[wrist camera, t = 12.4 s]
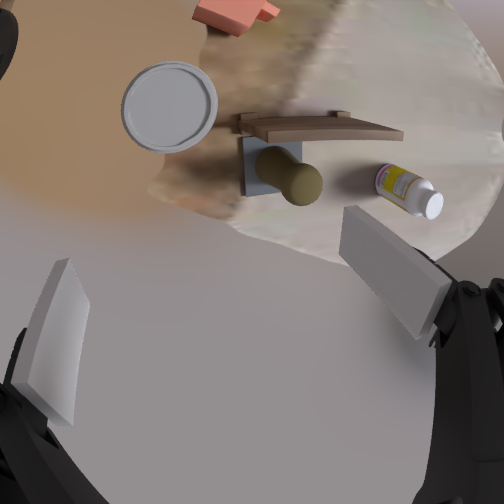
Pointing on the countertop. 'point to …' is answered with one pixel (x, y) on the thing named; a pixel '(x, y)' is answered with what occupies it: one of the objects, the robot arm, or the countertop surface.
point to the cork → (289, 175)
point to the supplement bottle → (408, 191)
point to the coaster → (250, 153)
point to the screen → (314, 128)
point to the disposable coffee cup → (169, 107)
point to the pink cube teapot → (233, 14)
